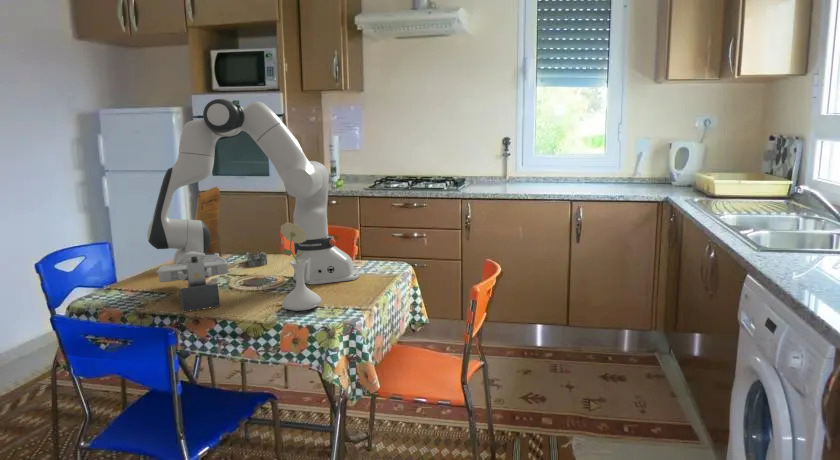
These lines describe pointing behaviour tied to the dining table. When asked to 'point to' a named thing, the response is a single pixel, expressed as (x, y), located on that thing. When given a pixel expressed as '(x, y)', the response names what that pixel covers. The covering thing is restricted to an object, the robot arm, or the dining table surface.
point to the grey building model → (256, 259)
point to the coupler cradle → (199, 297)
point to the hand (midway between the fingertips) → (196, 276)
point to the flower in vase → (298, 273)
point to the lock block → (195, 272)
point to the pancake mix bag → (210, 216)
